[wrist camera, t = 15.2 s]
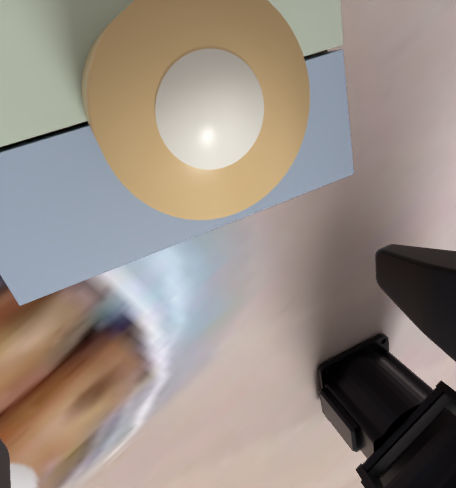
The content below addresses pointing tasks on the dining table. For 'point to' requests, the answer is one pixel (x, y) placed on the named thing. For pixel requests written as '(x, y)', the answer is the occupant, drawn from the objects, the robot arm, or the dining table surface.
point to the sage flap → (78, 45)
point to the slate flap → (126, 204)
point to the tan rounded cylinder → (197, 102)
